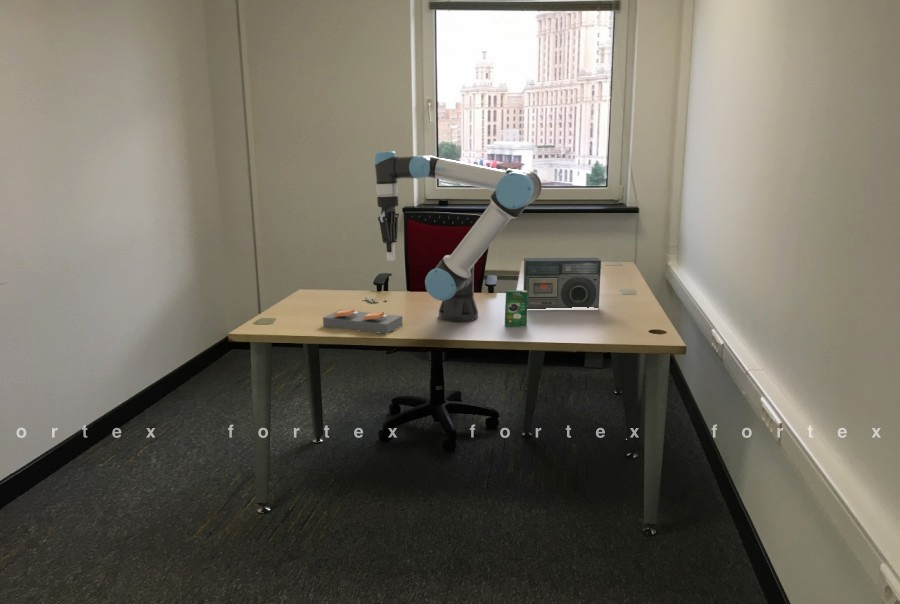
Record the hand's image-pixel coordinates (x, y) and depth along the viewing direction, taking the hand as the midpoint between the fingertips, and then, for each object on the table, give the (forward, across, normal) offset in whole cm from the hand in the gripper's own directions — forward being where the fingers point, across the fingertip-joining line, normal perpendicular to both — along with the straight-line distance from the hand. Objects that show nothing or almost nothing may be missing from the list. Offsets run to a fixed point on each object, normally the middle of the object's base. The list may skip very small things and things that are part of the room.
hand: (391, 260), depth 245 cm
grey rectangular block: (+23, +10, -8) cm, 26 cm away
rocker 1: (+18, +12, -14) cm, 26 cm away
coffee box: (+25, -8, +44) cm, 52 cm away
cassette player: (+25, -38, +55) cm, 72 cm away
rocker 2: (+18, +13, -2) cm, 22 cm away
